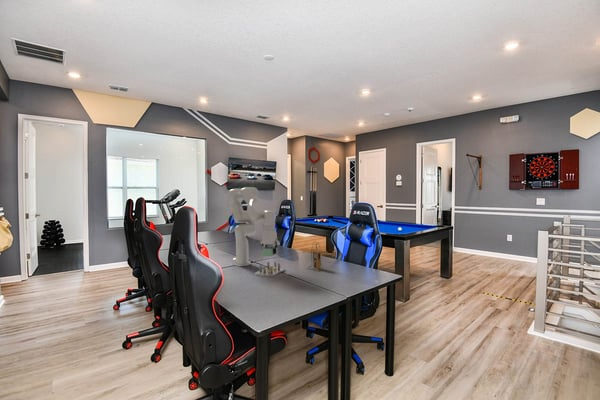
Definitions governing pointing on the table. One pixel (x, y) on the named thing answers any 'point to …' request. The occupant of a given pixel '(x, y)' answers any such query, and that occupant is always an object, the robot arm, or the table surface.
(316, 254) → the multimeter
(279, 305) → the table surface
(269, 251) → the module
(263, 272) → the chassis
